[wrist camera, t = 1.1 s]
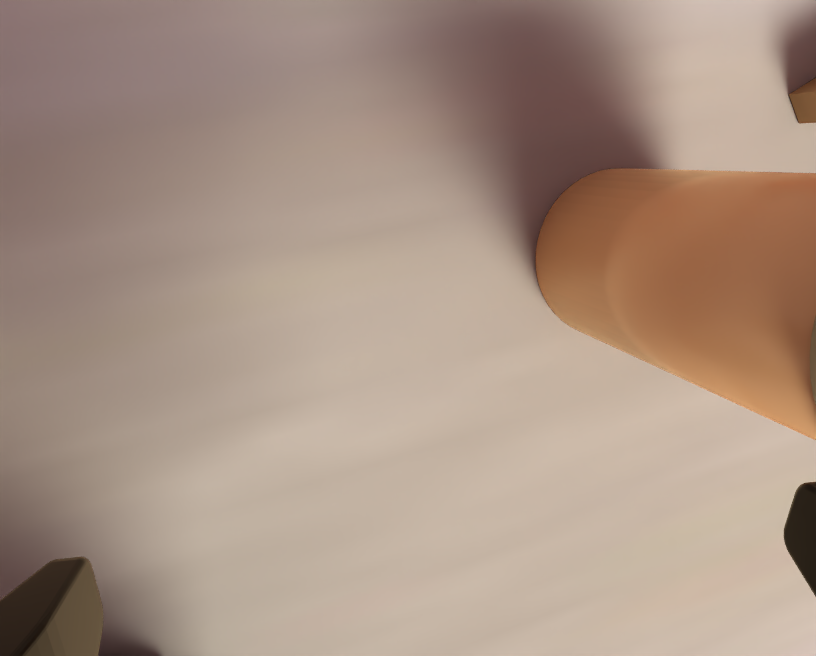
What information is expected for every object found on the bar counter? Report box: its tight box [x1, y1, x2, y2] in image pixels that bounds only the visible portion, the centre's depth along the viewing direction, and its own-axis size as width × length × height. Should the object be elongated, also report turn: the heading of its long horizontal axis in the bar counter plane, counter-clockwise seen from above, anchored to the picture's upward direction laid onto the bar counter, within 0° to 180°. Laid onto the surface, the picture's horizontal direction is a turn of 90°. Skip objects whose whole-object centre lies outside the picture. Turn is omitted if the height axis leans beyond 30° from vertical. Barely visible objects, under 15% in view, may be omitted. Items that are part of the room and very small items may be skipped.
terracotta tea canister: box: [536, 168, 816, 440], centre depth 18 cm, size 5×5×12 cm
